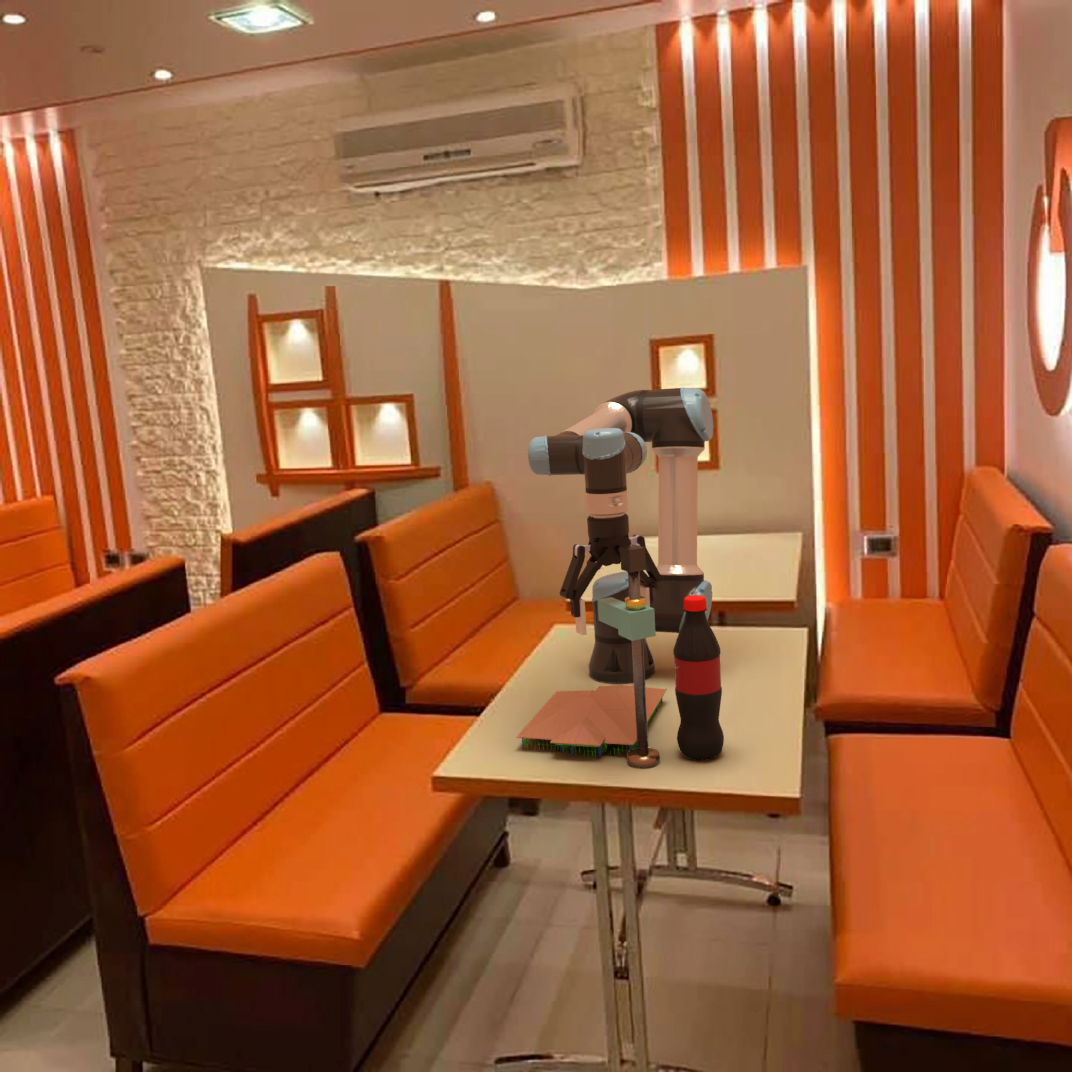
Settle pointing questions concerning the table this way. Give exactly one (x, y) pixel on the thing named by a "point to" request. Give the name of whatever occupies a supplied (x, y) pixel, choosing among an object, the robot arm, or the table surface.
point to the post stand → (638, 659)
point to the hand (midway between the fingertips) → (613, 627)
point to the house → (591, 718)
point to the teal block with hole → (627, 619)
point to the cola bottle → (698, 684)
